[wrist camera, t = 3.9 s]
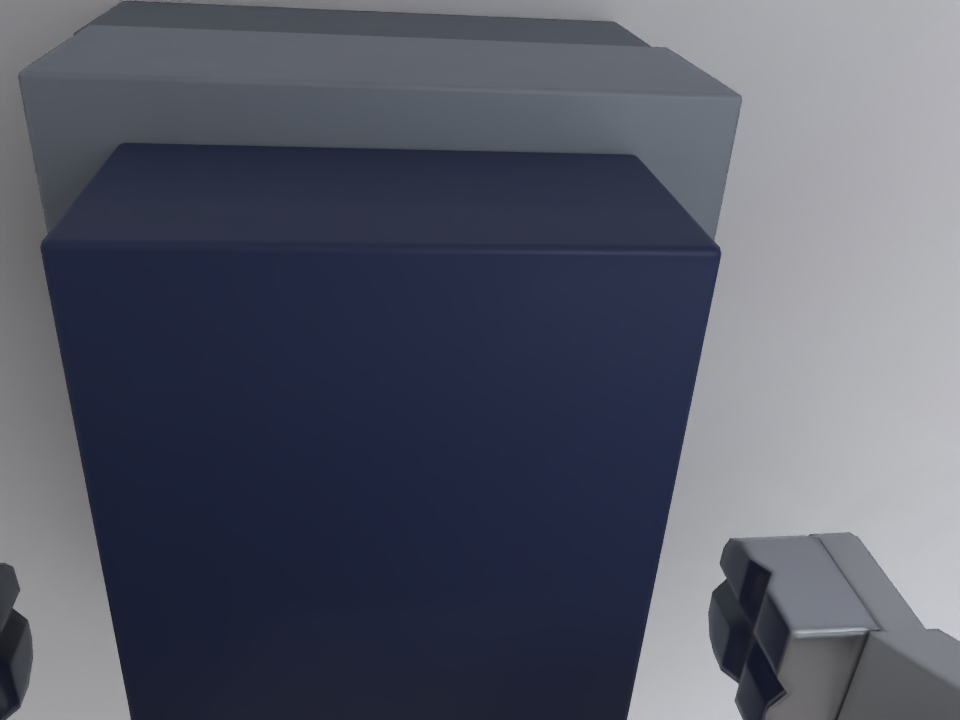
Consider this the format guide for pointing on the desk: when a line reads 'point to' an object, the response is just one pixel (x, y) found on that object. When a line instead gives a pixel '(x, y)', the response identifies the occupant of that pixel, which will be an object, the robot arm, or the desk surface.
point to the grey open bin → (372, 91)
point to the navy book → (378, 423)
